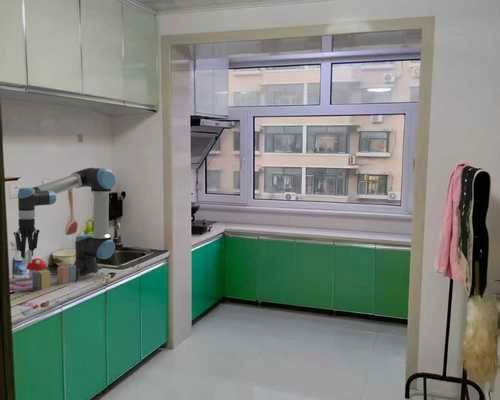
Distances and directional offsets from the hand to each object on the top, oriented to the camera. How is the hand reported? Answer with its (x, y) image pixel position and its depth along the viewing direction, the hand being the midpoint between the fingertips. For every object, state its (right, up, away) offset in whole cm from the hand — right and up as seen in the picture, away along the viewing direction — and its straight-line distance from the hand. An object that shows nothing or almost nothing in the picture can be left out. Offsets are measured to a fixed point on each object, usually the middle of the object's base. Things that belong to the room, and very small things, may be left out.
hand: (27, 263), depth 242 cm
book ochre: (+4, -15, +10) cm, 18 cm away
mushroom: (-9, -13, +30) cm, 34 cm away
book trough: (+7, -15, +16) cm, 23 cm away
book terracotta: (+11, -14, +20) cm, 27 cm away
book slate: (+13, -13, +24) cm, 30 cm away
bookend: (+1, -15, +5) cm, 16 cm away
